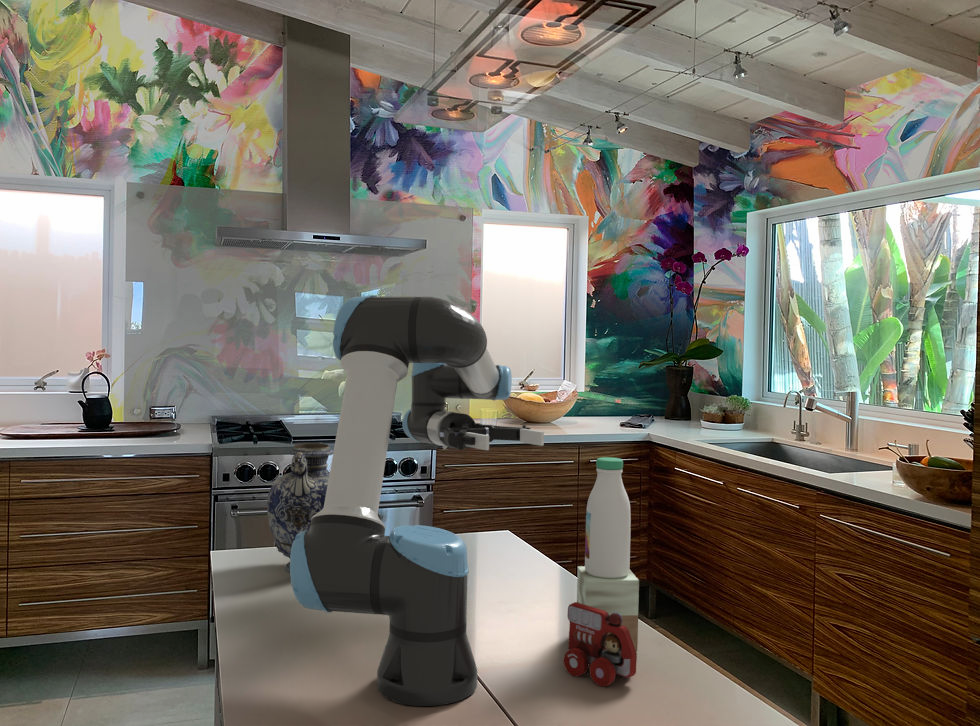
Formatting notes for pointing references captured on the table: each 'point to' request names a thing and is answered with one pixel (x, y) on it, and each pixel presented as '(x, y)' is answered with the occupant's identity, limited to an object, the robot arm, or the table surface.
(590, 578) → the tower stack
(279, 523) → the decorative vase
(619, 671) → the toy fire truck
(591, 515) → the milk bottle
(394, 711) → the table surface
